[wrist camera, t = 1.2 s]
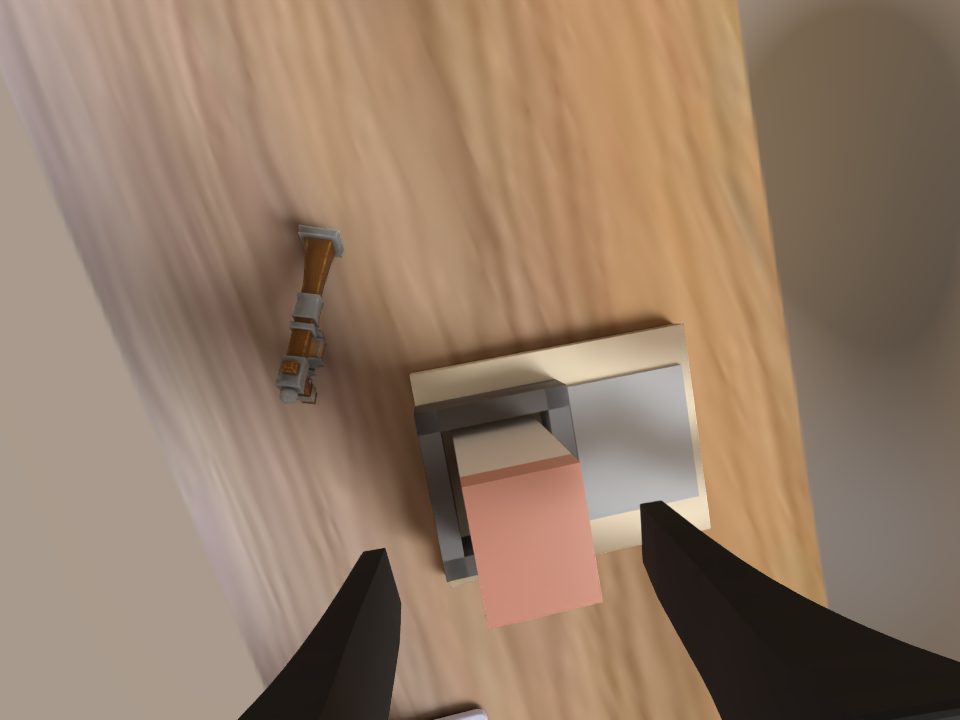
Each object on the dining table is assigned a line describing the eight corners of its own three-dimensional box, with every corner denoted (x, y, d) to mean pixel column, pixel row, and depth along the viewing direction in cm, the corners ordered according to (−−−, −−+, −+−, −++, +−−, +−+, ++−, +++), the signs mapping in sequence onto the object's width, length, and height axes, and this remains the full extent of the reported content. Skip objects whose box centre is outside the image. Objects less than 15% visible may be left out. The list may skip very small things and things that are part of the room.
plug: (546, 508, 24) (602, 602, 16) (469, 525, 24) (488, 629, 16) (530, 413, 24) (580, 462, 16) (451, 429, 23) (461, 487, 15)
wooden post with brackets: (285, 419, 23) (258, 396, 18) (315, 271, 25) (297, 221, 21) (324, 423, 23) (305, 400, 19) (349, 276, 26) (338, 227, 21)
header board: (700, 520, 26) (734, 546, 23) (450, 577, 25) (452, 612, 22) (673, 323, 25) (706, 324, 22) (410, 373, 24) (407, 381, 21)
